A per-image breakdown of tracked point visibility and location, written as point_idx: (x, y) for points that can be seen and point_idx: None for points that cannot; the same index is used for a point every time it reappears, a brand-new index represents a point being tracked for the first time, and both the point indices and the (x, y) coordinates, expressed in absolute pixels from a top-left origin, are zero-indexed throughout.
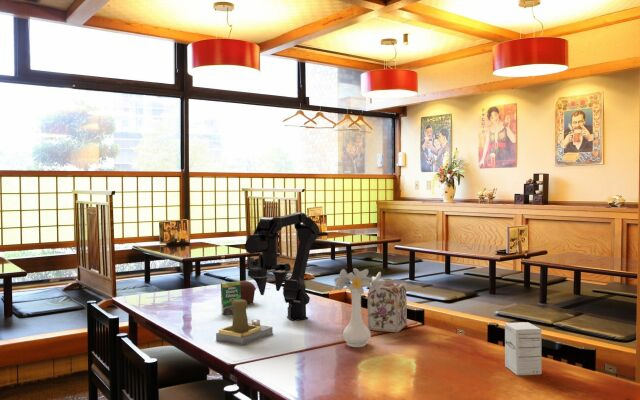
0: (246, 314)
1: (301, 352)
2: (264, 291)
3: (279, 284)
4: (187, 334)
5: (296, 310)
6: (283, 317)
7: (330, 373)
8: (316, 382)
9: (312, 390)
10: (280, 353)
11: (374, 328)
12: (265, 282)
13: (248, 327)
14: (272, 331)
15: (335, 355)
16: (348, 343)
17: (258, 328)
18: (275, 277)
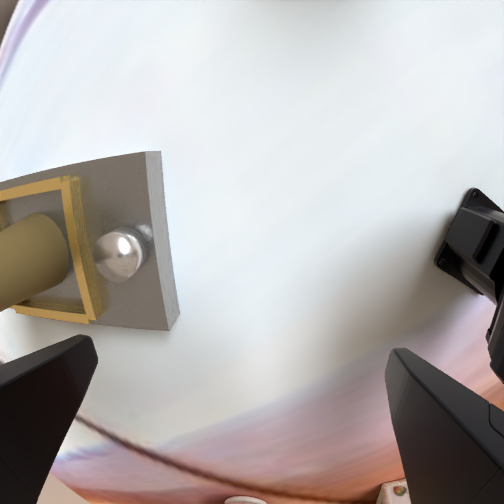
0: (6, 307)
1: (119, 446)
2: (82, 397)
3: (406, 447)
4: (18, 36)
5: (476, 279)
6: (470, 163)
7: (97, 485)
8: (66, 474)
9: (52, 471)
10: (79, 414)
11: (380, 494)
12: (26, 488)
13: (50, 286)
14: (175, 319)
15: (159, 489)
16: (228, 501)
17: (80, 321)
18: (491, 472)
